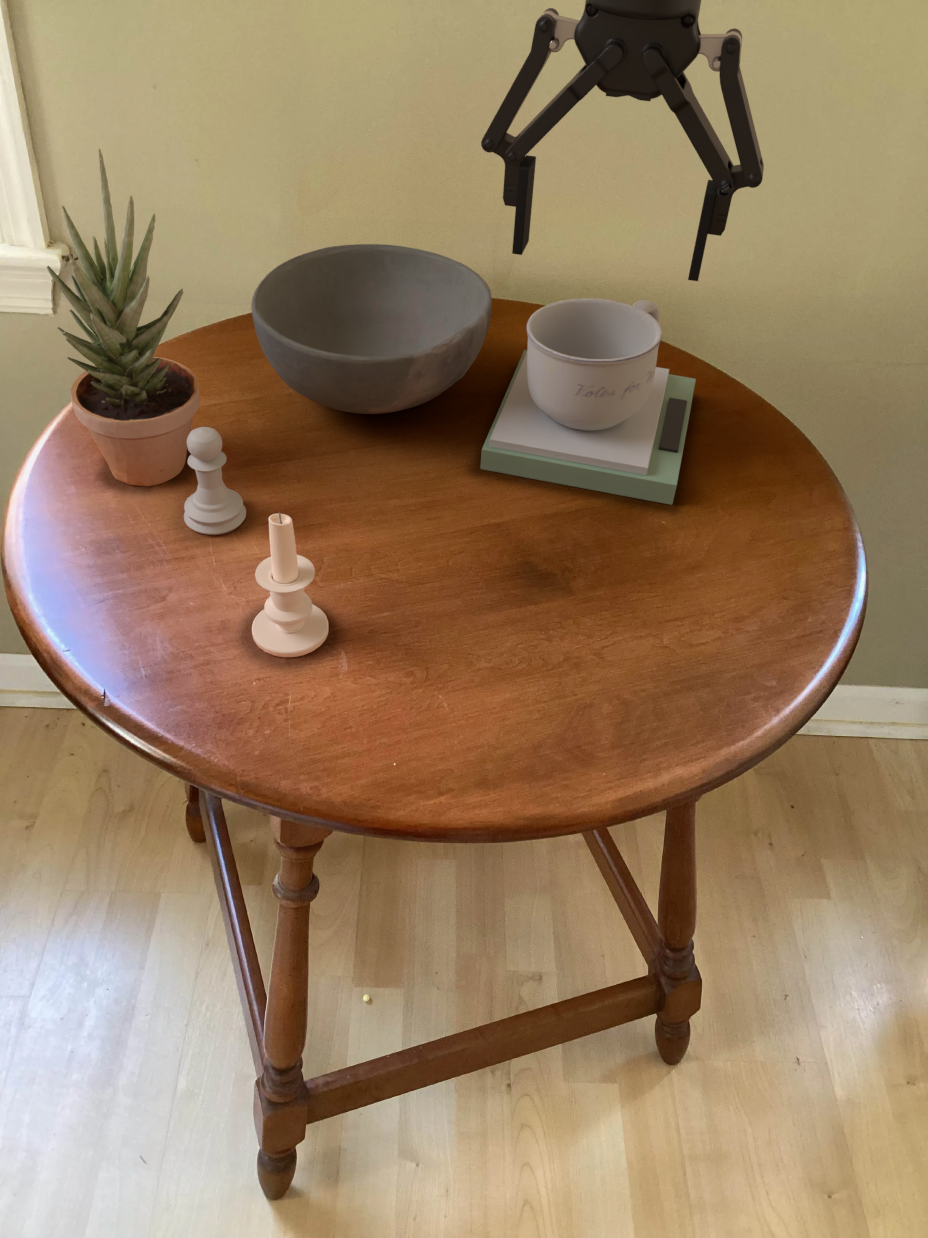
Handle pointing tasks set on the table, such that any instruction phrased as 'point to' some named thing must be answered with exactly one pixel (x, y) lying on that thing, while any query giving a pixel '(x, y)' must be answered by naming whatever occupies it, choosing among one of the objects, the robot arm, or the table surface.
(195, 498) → the chess piece
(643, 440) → the scale
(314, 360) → the bowl
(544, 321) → the teacup
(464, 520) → the table surface
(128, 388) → the potted plant
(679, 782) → the table surface
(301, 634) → the candle
